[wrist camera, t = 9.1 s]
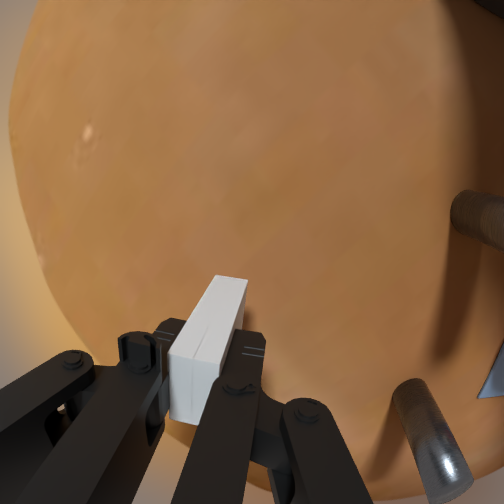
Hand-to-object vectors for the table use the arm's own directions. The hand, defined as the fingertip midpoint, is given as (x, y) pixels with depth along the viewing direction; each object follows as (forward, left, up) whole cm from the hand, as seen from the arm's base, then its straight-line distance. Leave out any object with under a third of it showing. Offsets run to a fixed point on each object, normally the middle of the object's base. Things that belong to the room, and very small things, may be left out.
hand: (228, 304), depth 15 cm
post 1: (+7, +13, -3) cm, 15 cm away
